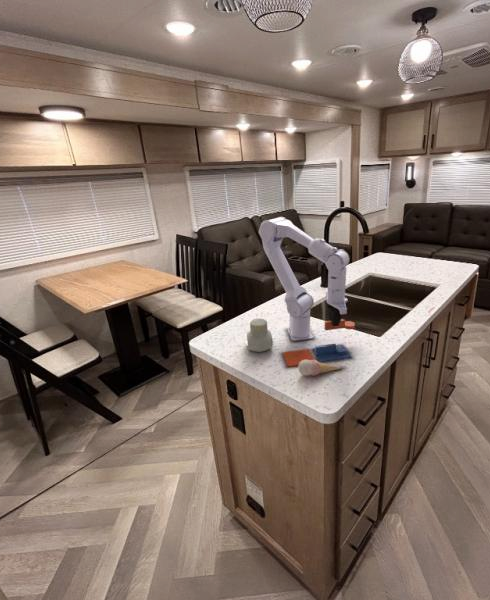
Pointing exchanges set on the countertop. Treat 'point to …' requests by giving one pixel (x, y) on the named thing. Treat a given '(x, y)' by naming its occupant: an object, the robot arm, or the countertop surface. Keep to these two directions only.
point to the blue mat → (332, 356)
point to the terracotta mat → (297, 357)
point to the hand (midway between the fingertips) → (334, 324)
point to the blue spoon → (330, 349)
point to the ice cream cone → (314, 367)
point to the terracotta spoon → (341, 325)
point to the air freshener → (259, 336)
